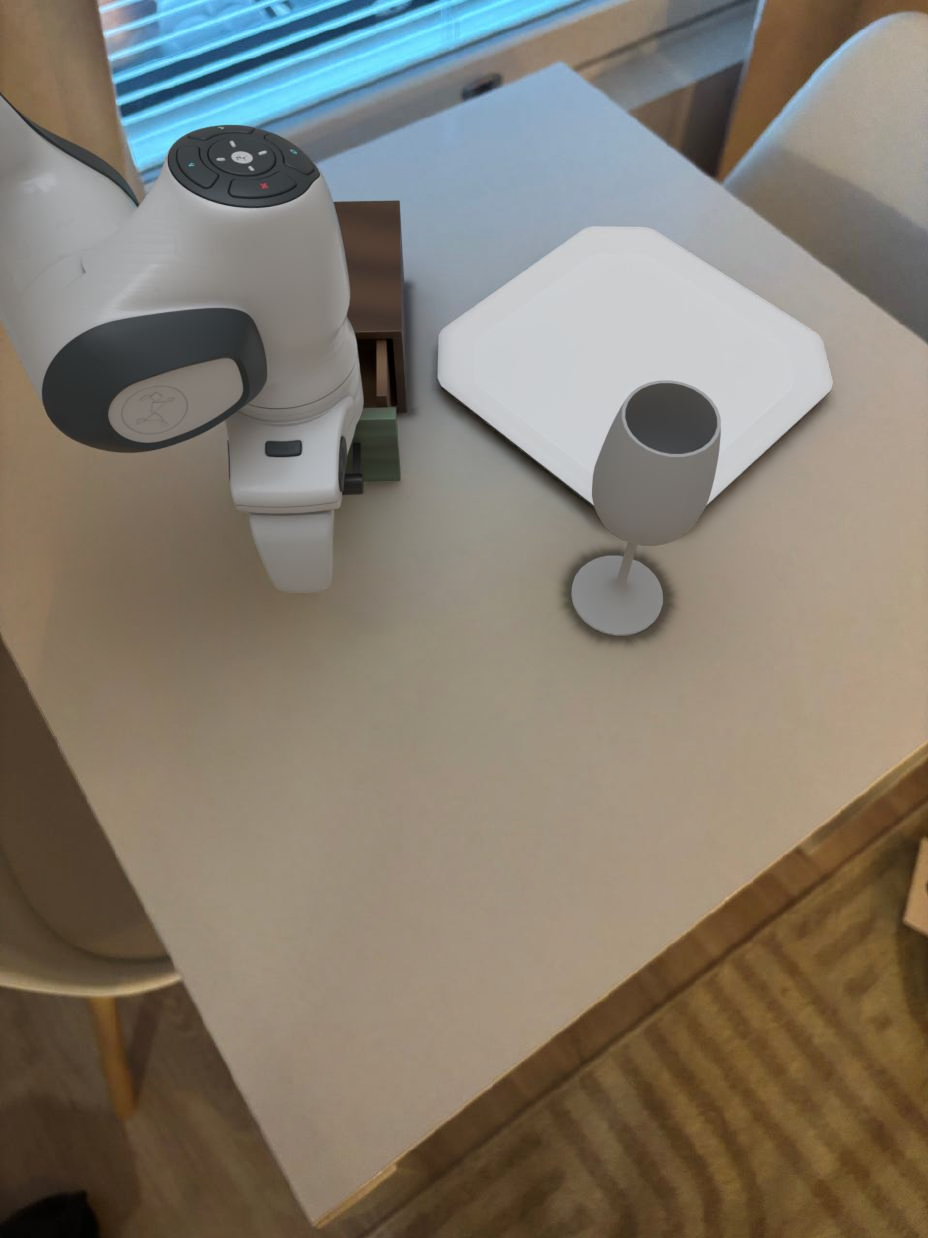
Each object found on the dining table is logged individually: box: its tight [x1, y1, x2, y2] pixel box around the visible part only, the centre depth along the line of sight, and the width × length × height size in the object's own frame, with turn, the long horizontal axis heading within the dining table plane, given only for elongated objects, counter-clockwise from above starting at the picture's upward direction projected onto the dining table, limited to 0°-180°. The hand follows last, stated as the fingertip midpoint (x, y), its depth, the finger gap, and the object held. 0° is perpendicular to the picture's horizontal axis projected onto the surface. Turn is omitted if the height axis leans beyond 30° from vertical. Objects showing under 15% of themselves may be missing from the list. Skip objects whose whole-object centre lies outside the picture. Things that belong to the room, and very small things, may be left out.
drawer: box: [342, 338, 402, 496], centre depth 77 cm, size 19×12×8 cm, turn 3°
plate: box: [436, 225, 834, 509], centre depth 84 cm, size 29×29×2 cm
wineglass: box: [570, 380, 721, 637], centre depth 65 cm, size 8×8×21 cm
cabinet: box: [333, 199, 408, 414], centre depth 82 cm, size 16×14×10 cm
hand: (318, 513), depth 71 cm, fingers closed
